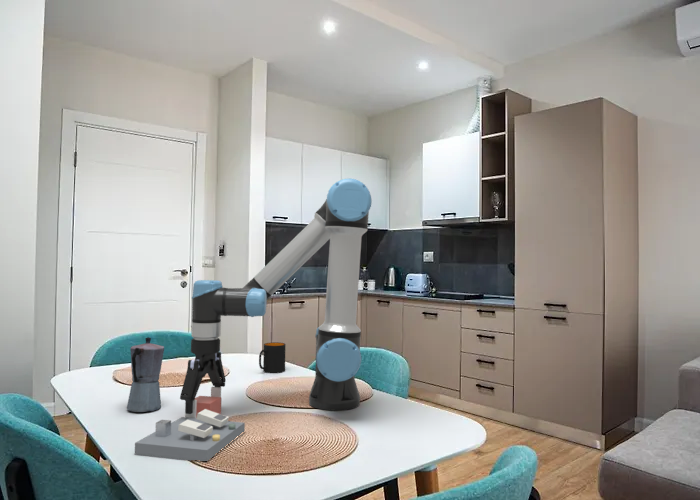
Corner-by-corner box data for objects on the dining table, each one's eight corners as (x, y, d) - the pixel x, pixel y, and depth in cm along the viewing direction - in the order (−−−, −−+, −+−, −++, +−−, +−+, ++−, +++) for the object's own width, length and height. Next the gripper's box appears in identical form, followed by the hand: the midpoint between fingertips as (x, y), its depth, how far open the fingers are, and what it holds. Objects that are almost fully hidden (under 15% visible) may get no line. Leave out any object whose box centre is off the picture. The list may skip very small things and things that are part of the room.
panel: (244, 432, 125) (244, 418, 125) (206, 462, 107) (207, 444, 107) (181, 427, 129) (181, 412, 129) (134, 454, 110) (135, 437, 111)
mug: (251, 373, 193) (251, 345, 193) (274, 368, 202) (274, 341, 202) (266, 376, 188) (267, 347, 188) (289, 370, 197) (290, 343, 197)
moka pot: (170, 402, 151) (171, 334, 152) (151, 418, 136) (153, 342, 137) (137, 402, 151) (139, 334, 152) (115, 417, 136) (117, 342, 136)
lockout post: (170, 433, 117) (171, 420, 117) (164, 437, 114) (165, 423, 114) (161, 432, 117) (161, 419, 117) (155, 436, 115) (155, 422, 115)
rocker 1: (211, 432, 115) (213, 426, 115) (204, 438, 112) (205, 431, 112) (186, 425, 117) (187, 418, 117) (178, 430, 113) (179, 423, 113)
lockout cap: (221, 415, 139) (221, 397, 139) (209, 423, 133) (210, 403, 133) (199, 414, 140) (199, 395, 140) (187, 421, 134) (187, 401, 134)
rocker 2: (227, 422, 123) (228, 416, 123) (220, 427, 119) (222, 421, 119) (203, 414, 124) (205, 408, 124) (196, 418, 121) (197, 412, 121)
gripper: (214, 331, 150) (212, 404, 149) (167, 344, 125) (164, 431, 125) (238, 332, 148) (236, 406, 148) (194, 345, 124) (192, 434, 123)
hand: (203, 417), depth 136 cm, fingers open, 13 cm apart
